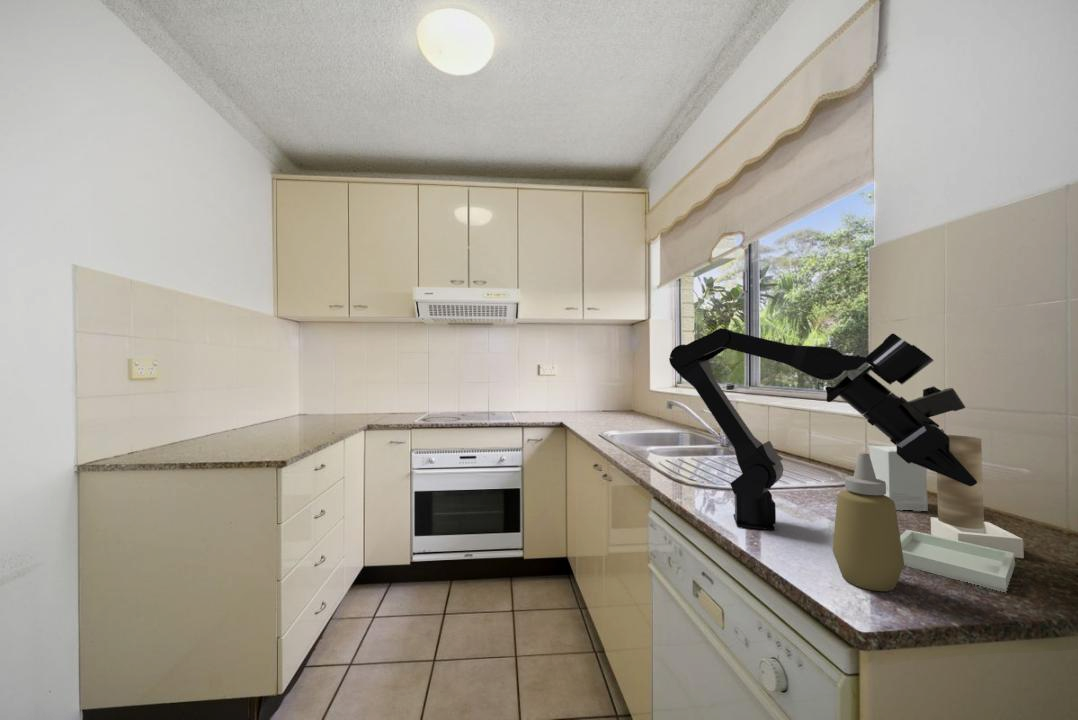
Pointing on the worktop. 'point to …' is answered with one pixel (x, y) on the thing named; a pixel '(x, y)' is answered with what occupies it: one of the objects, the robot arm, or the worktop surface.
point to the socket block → (980, 536)
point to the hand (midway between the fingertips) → (971, 480)
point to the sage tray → (958, 560)
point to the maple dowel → (962, 487)
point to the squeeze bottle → (867, 531)
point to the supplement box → (900, 478)
